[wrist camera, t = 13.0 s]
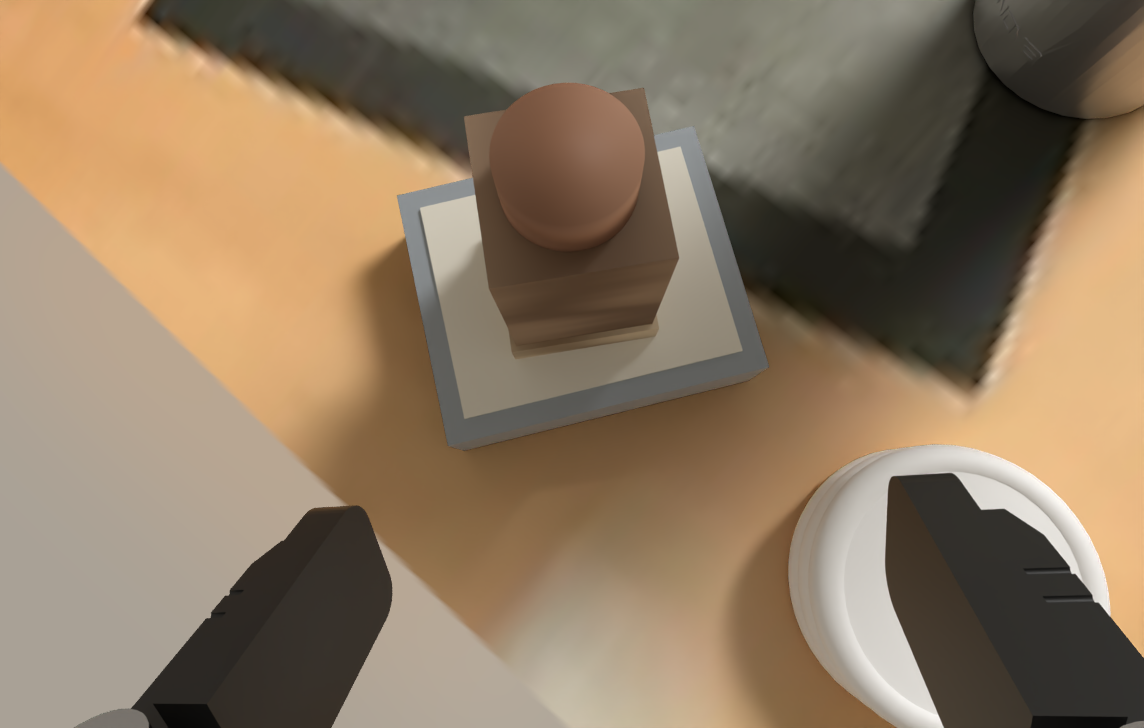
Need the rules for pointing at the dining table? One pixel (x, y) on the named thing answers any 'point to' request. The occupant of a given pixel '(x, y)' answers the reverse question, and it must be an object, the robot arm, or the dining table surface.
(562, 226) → the dome-topped square block
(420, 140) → the dining table surface
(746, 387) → the dining table surface
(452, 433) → the dock
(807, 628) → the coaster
